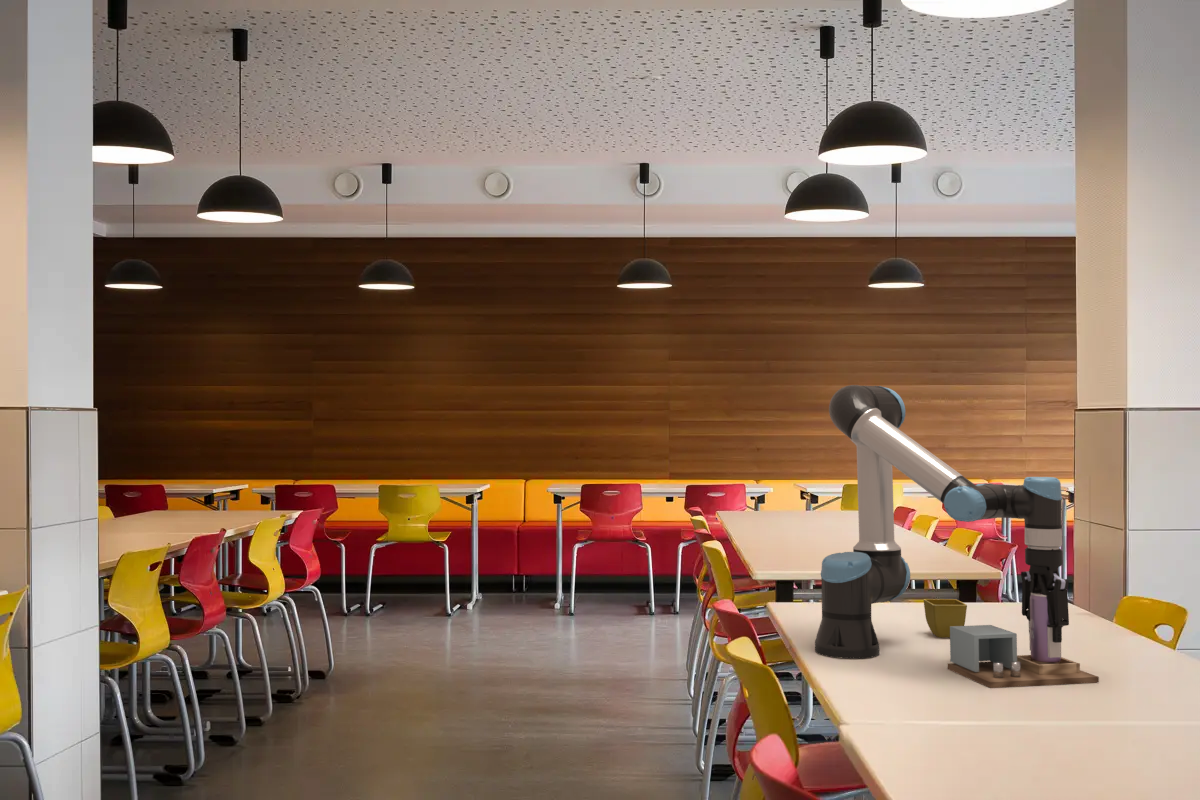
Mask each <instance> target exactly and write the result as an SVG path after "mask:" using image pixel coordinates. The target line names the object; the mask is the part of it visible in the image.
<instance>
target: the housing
mask: <svg viewBox="0 0 1200 800" xmlns="http://www.w3.org/2000/svg"><path fill="white" fill-rule="evenodd" d="M1017 641H1018V635H1017V633H1016V632H1013V631H1010V630H1007V629H1003V628H1002V627H998V626H995V625H993V624H979V625H978V624H977V625H964V626H950V638H949V642H950V643H949V649H950V651H949V652H950V653H949V654H950V663H955V664H958V665H960V666H962V667H964V668H967V669H969V670H971V671H974V672H979V662H1002V663H1003V666H1004V667H1006V668H1009V669H1010V661H1017V655H1018V642H1017Z"/></svg>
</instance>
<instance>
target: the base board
mask: <svg viewBox="0 0 1200 800" xmlns="http://www.w3.org/2000/svg"><path fill="white" fill-rule="evenodd" d="M1017 661H1018V662H1020V665H1021V677H1019V678H1016V677H1011V676H1010V669H1009V668H1006V667H1004V666H1003V678H994V677H993V662H991V661H979V672H974V671H971V670H969V669H967V668H964V667H962V666H960V665H958V664H955V663H953V662H949V663H947V664H946V665H947V670H949V671H951V672H954V673H956V674H959V675H960V676H963V677H964V678H967V679H969V680H972V681H974V682H976V683H978V684H981V685H983V686H985V687H987V688H990V689H999V688H1016V687H1019V688H1020V687H1039V686H1055V685H1056V686H1058V685H1075V684H1079V685H1080V684H1096V683H1097V682H1099V683H1100V677H1099V676H1097V675H1094V674H1092V673H1089V672H1087V671H1084V670H1081V663H1079V662H1077V661H1074V660H1070V659H1068V658H1065V657H1062V656H1061V661H1060V663H1059V664H1038V663H1035V662H1033V661H1032V659H1031V654H1021V655H1020V654H1019V655H1018V654H1017ZM1097 684H1098V683H1097Z"/></svg>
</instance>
